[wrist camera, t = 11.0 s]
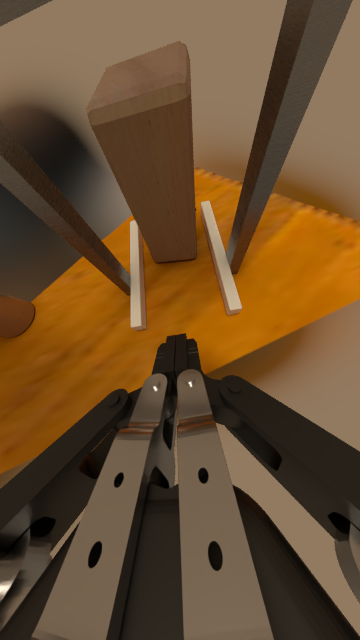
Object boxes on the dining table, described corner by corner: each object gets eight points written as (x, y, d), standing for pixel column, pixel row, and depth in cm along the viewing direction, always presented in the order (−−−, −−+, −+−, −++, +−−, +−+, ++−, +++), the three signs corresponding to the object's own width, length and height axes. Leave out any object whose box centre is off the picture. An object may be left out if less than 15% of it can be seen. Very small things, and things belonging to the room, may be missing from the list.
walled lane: (137, 330, 26) (130, 327, 24) (134, 231, 35) (130, 221, 32) (238, 313, 24) (242, 308, 22) (208, 212, 33) (209, 200, 30)
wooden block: (195, 227, 32) (188, 34, 13) (196, 260, 29) (189, 72, 10) (157, 233, 33) (100, 67, 14) (154, 264, 30) (78, 108, 11)
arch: (128, 295, 29) (-285, -69, 4) (128, 284, 30) (-211, -68, 5) (236, 273, 26) (744, -925, 2) (233, 261, 27) (529, -625, 3)
